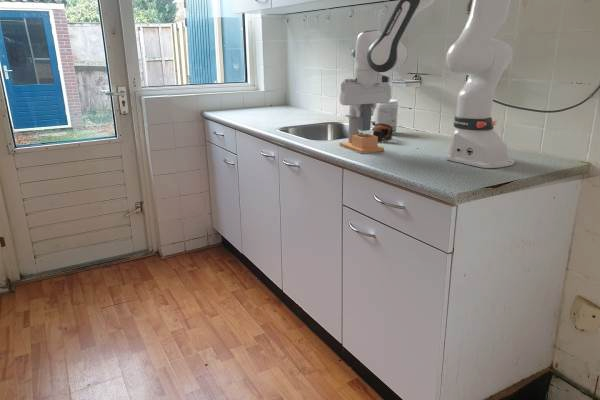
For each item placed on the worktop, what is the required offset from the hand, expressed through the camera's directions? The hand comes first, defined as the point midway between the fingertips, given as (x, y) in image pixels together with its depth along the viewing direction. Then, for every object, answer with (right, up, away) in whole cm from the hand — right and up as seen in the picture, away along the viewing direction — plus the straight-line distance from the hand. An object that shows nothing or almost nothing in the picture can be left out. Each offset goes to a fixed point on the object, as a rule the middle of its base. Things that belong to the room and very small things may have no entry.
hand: (364, 116), depth 167 cm
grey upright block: (0, -5, +2) cm, 5 cm away
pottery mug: (+10, -7, +19) cm, 23 cm away
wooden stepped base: (-1, -11, +7) cm, 13 cm away
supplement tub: (+15, -1, +36) cm, 39 cm away
